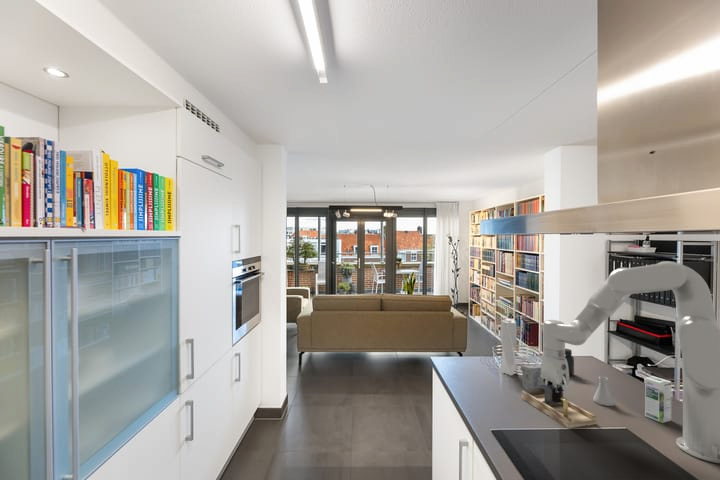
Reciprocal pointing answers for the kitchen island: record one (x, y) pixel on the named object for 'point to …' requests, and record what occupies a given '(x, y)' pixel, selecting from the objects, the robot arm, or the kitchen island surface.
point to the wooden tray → (558, 408)
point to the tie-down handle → (551, 396)
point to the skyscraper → (508, 346)
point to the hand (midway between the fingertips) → (553, 399)
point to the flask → (603, 393)
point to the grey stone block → (532, 375)
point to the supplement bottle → (570, 361)
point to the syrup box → (658, 399)
